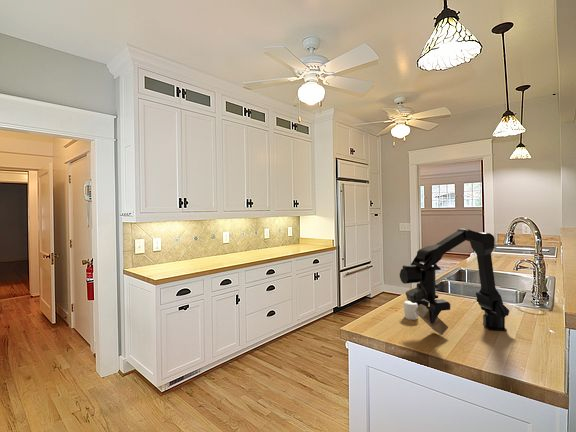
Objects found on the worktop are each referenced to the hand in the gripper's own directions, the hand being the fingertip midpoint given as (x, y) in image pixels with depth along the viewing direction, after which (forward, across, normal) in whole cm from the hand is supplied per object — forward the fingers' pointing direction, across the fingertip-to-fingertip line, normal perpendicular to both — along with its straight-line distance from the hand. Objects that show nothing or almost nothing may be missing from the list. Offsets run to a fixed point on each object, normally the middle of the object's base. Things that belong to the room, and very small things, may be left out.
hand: (427, 320), depth 120 cm
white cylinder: (+6, -19, +5) cm, 20 cm away
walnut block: (+4, 0, +6) cm, 7 cm away
